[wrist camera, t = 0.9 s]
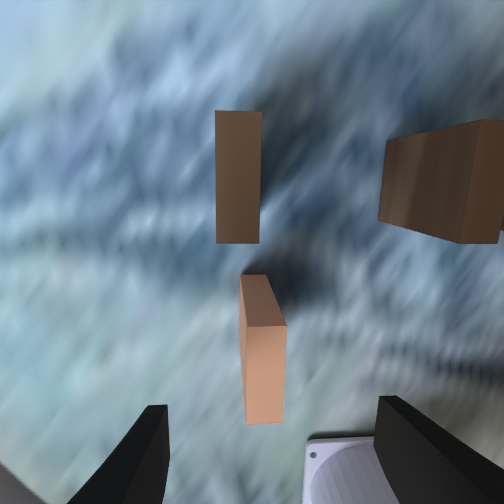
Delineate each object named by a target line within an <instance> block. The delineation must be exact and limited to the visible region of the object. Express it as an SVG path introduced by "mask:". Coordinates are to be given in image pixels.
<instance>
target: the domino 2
mask: <svg viewBox="0 0 504 504" xmlns="http://www.w3.org/2000/svg"><path fill="white" fill-rule="evenodd" d="M503 214H504V120H477V121H473V122H468V123H464V124H460V125H455V126H451V127H446V128H442V129H438V130H433V131H429V132H424V133H420V134H415V135H411V136H407V137H402V138H398V139H393V140H389V141H386V150H385V159H384V169H383V178H382V187H381V196H380V206H379V215H378V221H382V222H385V223H389V224H392V225H396V226H399V227H403V228H406V229H410V230H413V231H417V232H420V233H424V234H427V235H431V236H434V237H438V238H441V239H445V240H448V241H452V242H455V243H459V244H498V239H499V234H500V229H501V224H502V219H503Z"/></svg>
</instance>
